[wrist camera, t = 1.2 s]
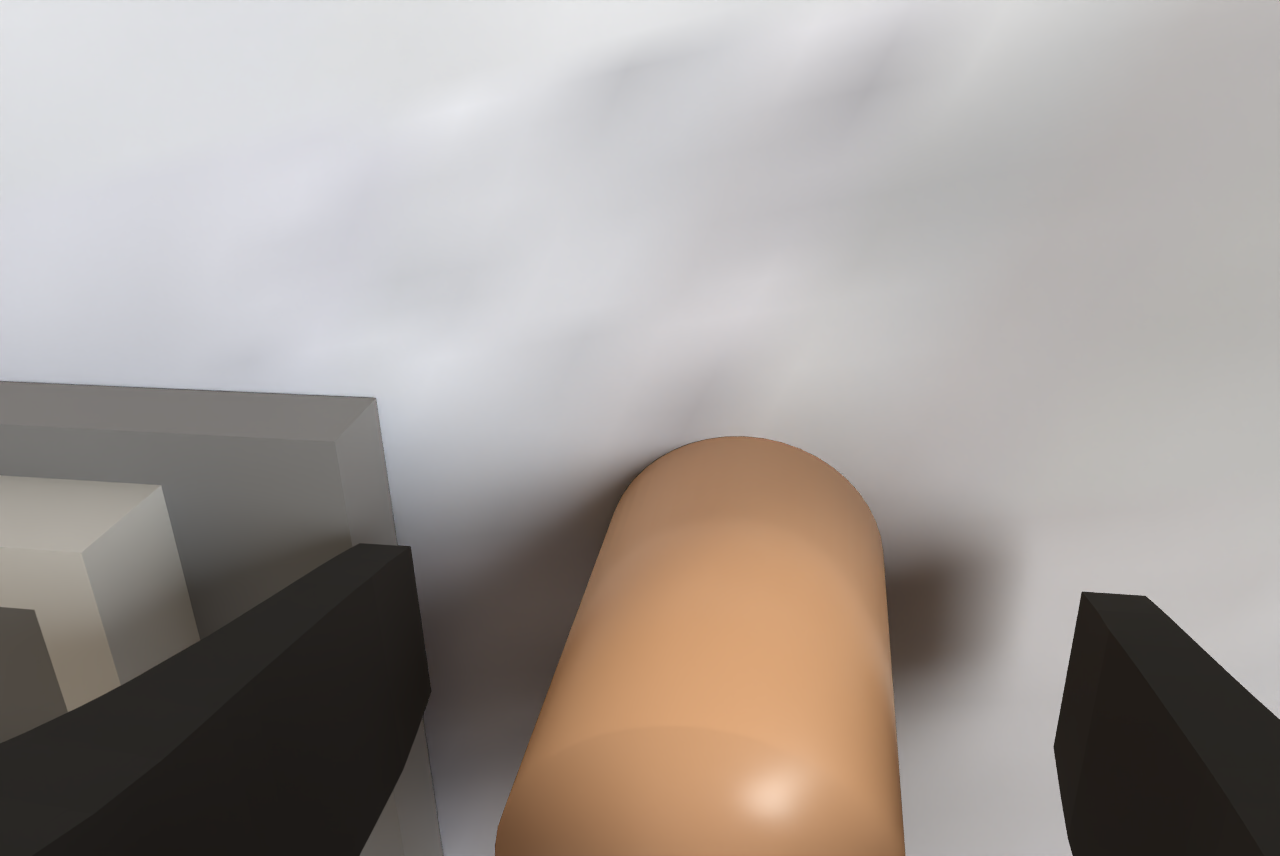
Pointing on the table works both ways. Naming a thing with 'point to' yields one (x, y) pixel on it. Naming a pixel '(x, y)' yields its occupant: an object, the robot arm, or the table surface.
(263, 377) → the table surface
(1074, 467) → the table surface
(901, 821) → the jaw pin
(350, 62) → the table surface
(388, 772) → the robot arm
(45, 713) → the housing
